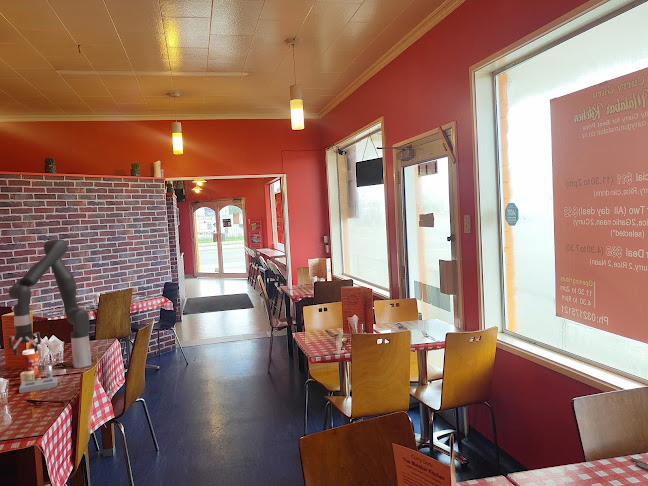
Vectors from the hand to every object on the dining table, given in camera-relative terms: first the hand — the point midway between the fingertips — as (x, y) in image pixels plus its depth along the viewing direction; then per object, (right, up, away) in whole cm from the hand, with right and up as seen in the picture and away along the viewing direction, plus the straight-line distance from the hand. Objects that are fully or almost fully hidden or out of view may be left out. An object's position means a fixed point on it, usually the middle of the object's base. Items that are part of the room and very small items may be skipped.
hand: (26, 354), depth 255 cm
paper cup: (-6, -16, +16) cm, 23 cm away
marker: (+2, -15, +8) cm, 17 cm away
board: (+10, -16, -6) cm, 20 cm away
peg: (+10, -15, +5) cm, 18 cm away
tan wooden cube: (+1, -16, +1) cm, 16 cm away
